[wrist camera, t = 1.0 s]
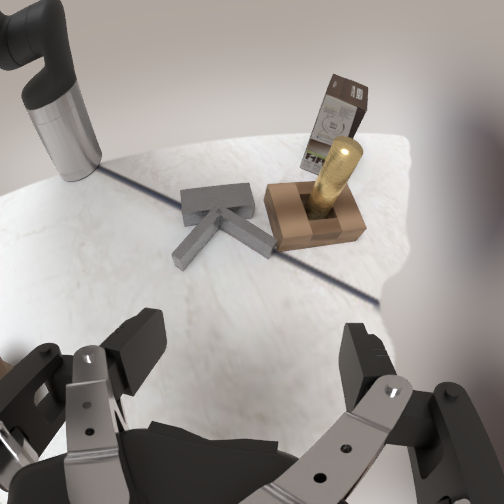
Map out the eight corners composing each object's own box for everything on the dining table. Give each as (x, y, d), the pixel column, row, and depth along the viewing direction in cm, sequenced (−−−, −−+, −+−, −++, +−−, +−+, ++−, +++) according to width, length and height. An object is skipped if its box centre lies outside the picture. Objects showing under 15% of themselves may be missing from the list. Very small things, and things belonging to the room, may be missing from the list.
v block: (170, 205, 41) (167, 191, 38) (258, 195, 44) (261, 181, 41) (175, 271, 37) (172, 261, 34) (274, 258, 39) (279, 246, 36)
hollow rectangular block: (263, 200, 43) (267, 184, 40) (337, 194, 46) (345, 180, 42) (277, 252, 40) (283, 238, 36) (355, 240, 42) (366, 228, 39)
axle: (296, 211, 43) (329, 135, 29) (317, 209, 44) (355, 136, 30) (303, 231, 42) (341, 157, 27) (324, 229, 42) (368, 158, 28)
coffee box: (332, 181, 47) (367, 111, 33) (298, 167, 47) (324, 93, 33) (340, 151, 51) (369, 86, 37) (310, 139, 51) (333, 71, 37)
